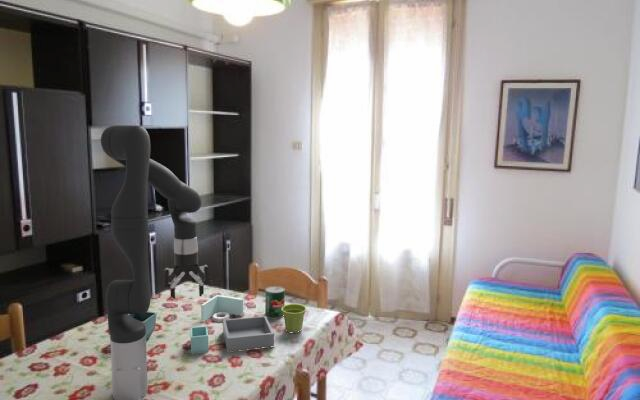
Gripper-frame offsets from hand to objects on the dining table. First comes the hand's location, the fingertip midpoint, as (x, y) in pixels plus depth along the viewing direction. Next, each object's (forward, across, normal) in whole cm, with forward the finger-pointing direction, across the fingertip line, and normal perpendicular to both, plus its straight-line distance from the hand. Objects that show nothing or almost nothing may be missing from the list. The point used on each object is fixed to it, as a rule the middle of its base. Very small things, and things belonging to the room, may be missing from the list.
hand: (187, 296), depth 154 cm
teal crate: (+19, +4, 0) cm, 20 cm away
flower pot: (+19, -16, +12) cm, 28 cm away
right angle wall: (+21, +14, +23) cm, 34 cm away
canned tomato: (+20, +35, +21) cm, 46 cm away
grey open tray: (+19, +21, +2) cm, 28 cm away
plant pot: (+20, +39, +5) cm, 44 cm away
